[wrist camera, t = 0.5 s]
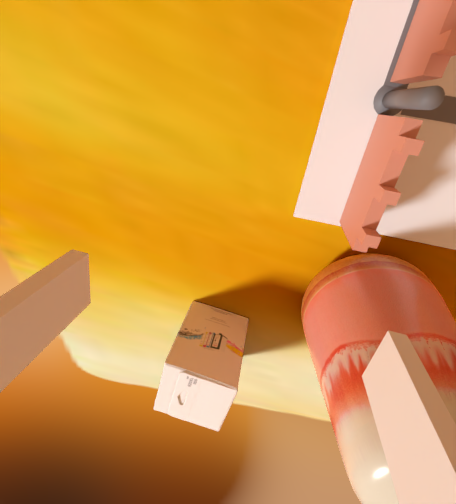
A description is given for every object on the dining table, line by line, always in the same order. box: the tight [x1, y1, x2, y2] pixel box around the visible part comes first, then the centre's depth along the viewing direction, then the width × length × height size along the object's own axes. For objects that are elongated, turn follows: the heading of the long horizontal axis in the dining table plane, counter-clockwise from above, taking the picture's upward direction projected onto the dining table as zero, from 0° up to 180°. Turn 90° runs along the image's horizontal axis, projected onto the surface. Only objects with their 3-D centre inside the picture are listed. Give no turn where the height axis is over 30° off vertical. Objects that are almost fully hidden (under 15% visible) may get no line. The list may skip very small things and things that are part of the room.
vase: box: [301, 254, 456, 504], centre depth 23 cm, size 14×14×30 cm
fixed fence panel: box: [382, 0, 456, 110], centre depth 20 cm, size 13×1×9 cm, turn 171°
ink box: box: [154, 301, 249, 431], centre depth 37 cm, size 9×8×12 cm
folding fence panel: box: [339, 114, 425, 253], centre depth 25 cm, size 11×1×9 cm, turn 171°
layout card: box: [293, 0, 456, 250], centre depth 27 cm, size 23×18×1 cm
